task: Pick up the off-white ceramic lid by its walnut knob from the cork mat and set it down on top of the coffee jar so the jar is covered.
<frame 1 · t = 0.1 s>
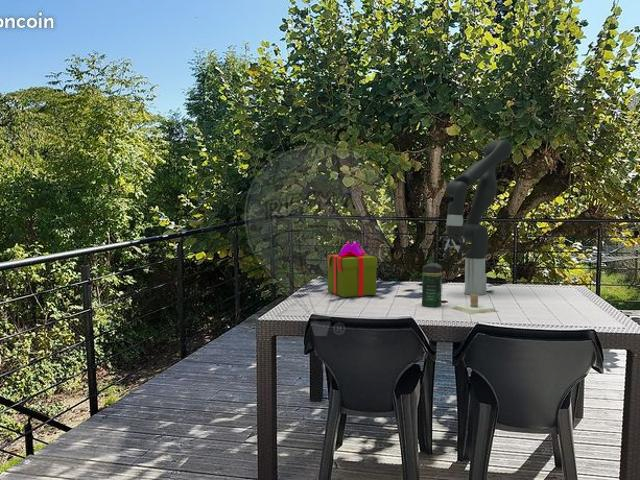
hand: (453, 259, 268), 17 cm above the table, tool pointing down, fingers open, 8 cm apart
gift box: (351, 294, 274), on the table
lid: (474, 309, 233), point 1 cm above the table, touching mat
coffee jar: (431, 307, 243), on the table
mat: (474, 311, 233), on the table
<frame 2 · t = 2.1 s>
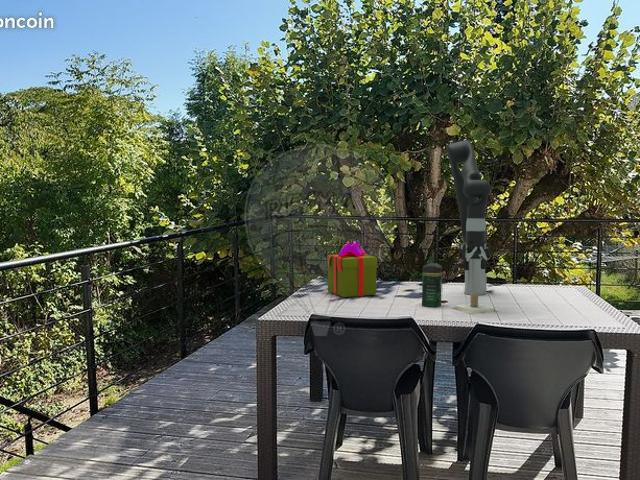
hand: (474, 269, 232), 17 cm above the table, tool pointing down, fingers open, 8 cm apart
nothing on the table moved.
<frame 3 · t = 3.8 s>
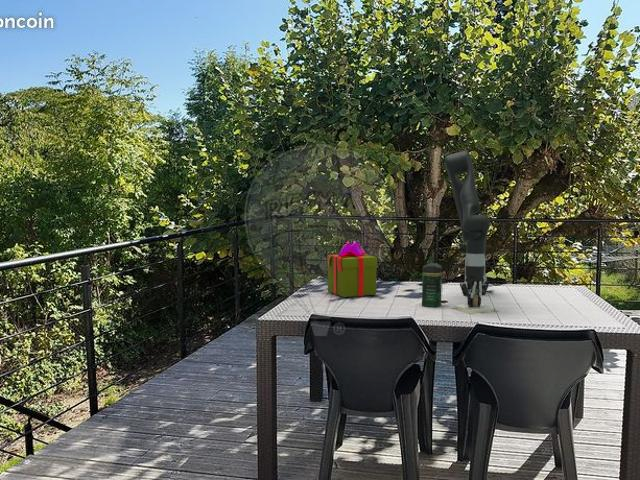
hand: (474, 306, 233), 2 cm above the table, tool pointing down, fingers closed on lid, 3 cm apart
lid: (474, 309, 233), point 1 cm above the table, touching gripper, mat
everything else where it was.
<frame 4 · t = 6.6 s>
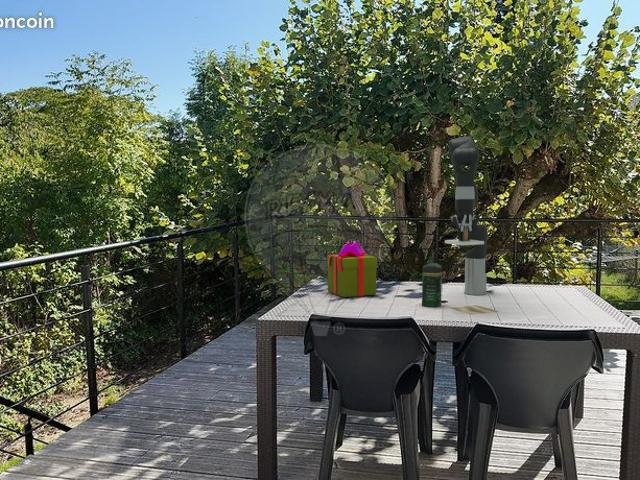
hand: (464, 240, 234), 29 cm above the table, tool pointing down, fingers closed on lid, 3 cm apart
lid: (464, 243, 234), point 28 cm above the table, touching gripper
everything else where it was.
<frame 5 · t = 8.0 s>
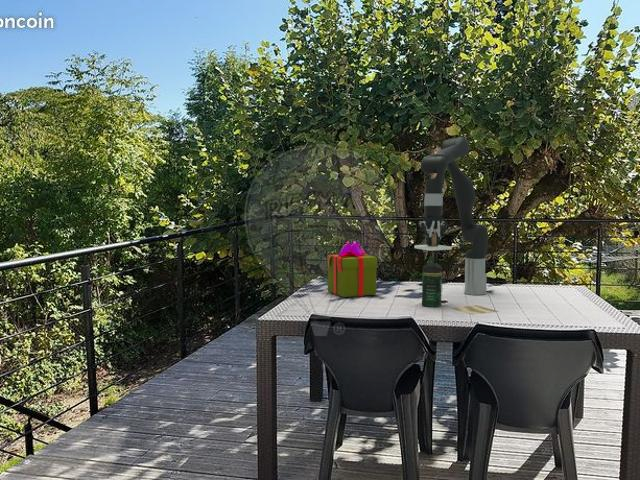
hand: (432, 245, 241), 26 cm above the table, tool pointing down, fingers closed on lid, 3 cm apart
lid: (432, 248, 241), point 25 cm above the table, touching gripper
everything else where it was.
when the fingers open (22 cm above the table, at t = 8.9 s): lid drops 2 cm, resting on coffee jar.
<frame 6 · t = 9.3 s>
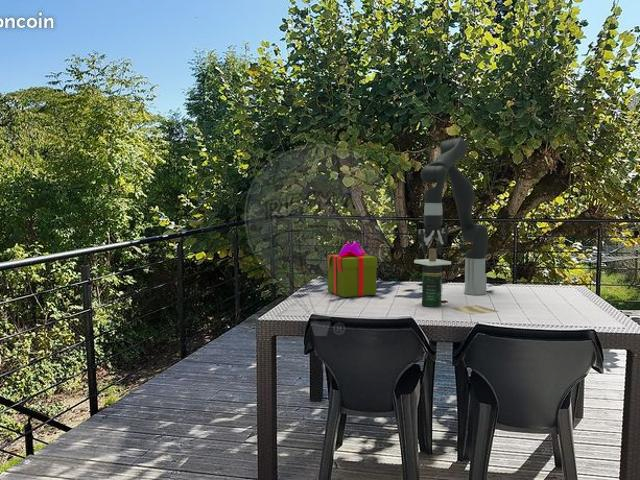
hand: (432, 253, 241), 23 cm above the table, tool pointing down, fingers open, 6 cm apart
lid: (432, 263, 241), point 18 cm above the table, touching coffee jar
coffee jar: (431, 307, 243), on the table, touching lid
everything else where it was.
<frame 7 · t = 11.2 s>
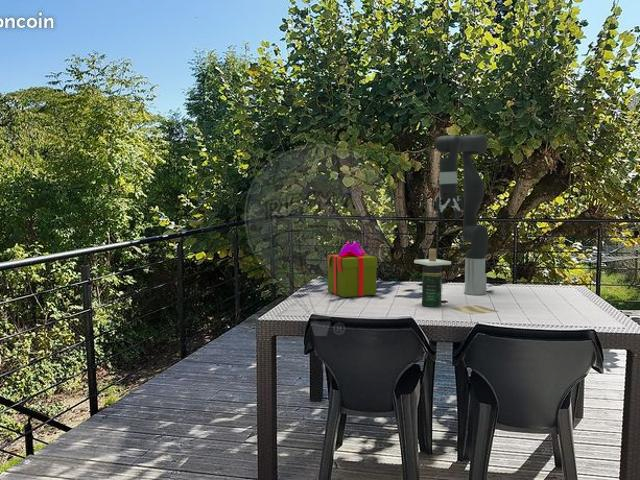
hand: (448, 220, 247), 36 cm above the table, tool pointing down, fingers open, 8 cm apart
nothing on the table moved.
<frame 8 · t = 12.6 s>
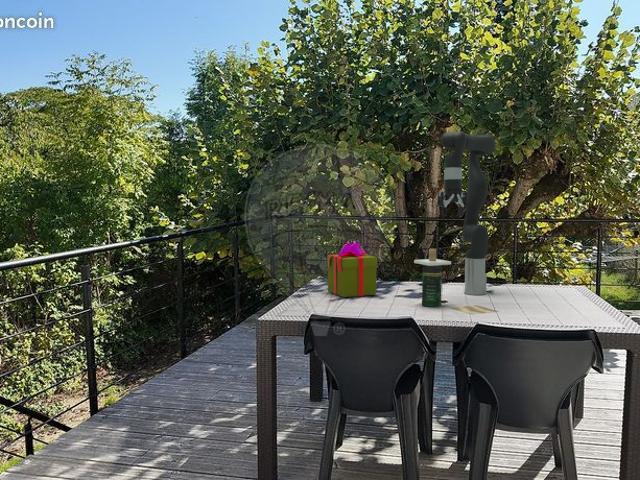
hand: (452, 216, 249), 38 cm above the table, tool pointing down, fingers open, 8 cm apart
nothing on the table moved.
at the end: lid inside the target area on the coffee jar (0.0 cm from its centre), point 18.7 cm above the coffee jar's base; lid tilted 0°; the gripper is holding nothing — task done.
